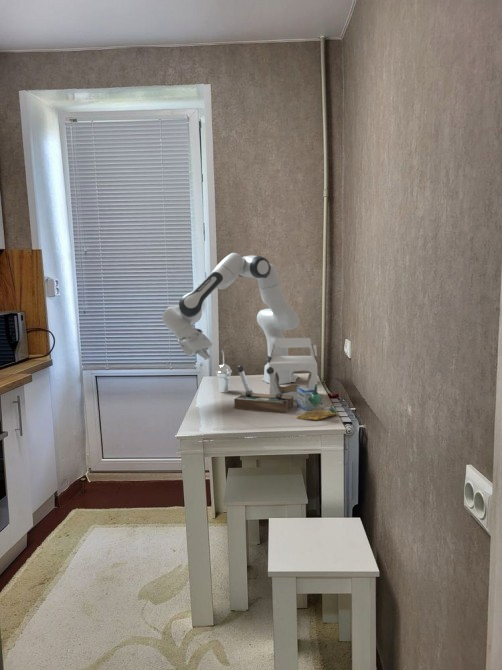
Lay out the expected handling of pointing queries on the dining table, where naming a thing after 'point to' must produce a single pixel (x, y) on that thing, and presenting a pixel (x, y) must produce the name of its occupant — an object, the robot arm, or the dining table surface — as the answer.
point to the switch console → (264, 402)
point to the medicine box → (304, 397)
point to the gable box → (293, 363)
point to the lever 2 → (274, 382)
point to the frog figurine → (316, 400)
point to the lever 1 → (244, 380)
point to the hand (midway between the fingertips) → (208, 358)
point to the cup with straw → (223, 376)
